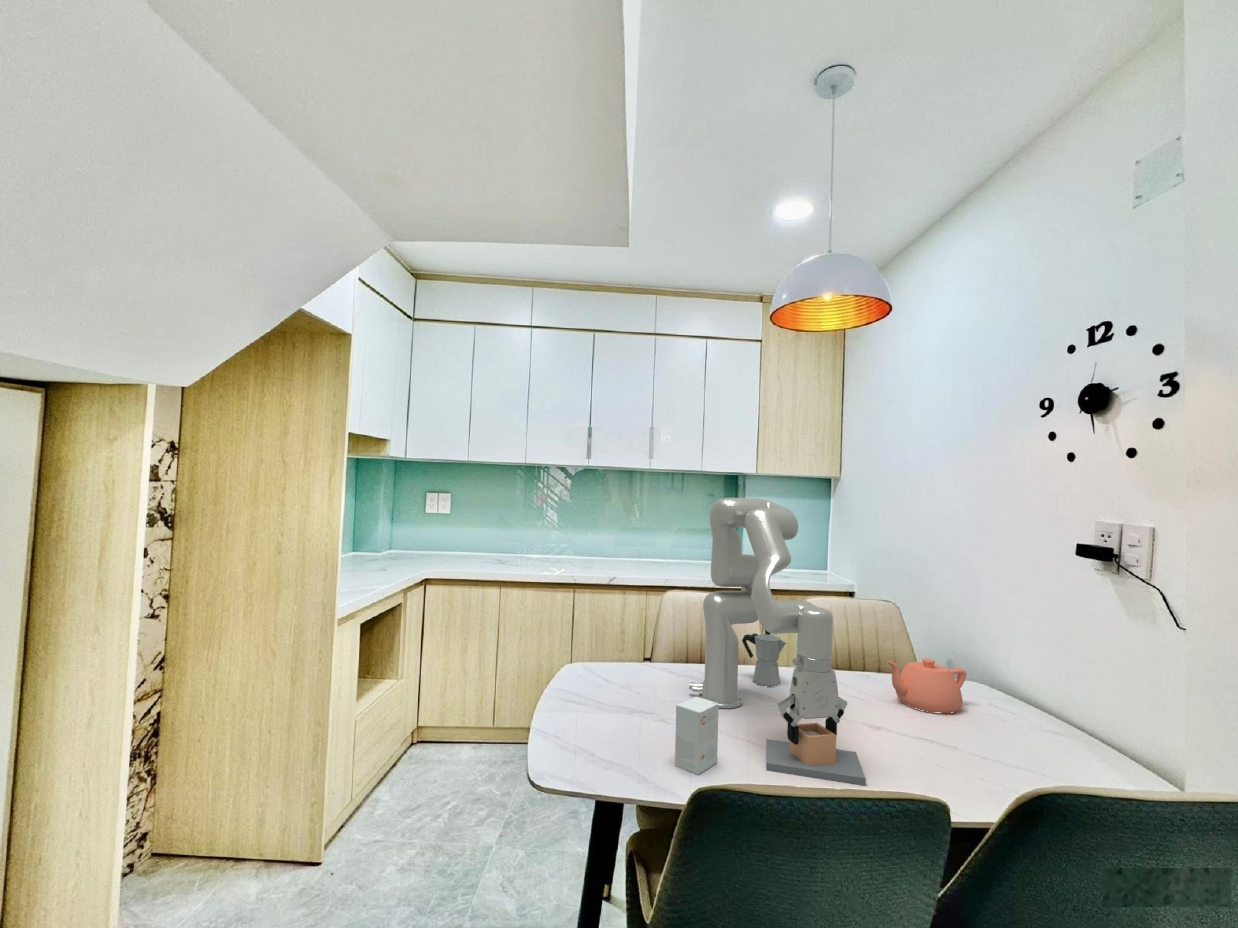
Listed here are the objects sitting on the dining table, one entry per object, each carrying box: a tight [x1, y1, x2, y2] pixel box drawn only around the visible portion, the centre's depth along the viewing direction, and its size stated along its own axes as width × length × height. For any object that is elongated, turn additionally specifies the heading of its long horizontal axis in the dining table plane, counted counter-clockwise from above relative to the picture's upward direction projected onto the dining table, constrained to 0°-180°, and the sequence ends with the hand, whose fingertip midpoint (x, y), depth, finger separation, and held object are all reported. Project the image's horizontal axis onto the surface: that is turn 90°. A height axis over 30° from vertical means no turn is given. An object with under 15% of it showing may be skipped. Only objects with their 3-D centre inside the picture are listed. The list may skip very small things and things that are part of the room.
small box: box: [674, 696, 720, 775], centre depth 124 cm, size 8×6×13 cm
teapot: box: [886, 658, 967, 714], centre depth 168 cm, size 25×17×13 cm
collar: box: [789, 722, 837, 766], centre depth 126 cm, size 7×7×6 cm
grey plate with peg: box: [765, 731, 867, 787], centre depth 126 cm, size 20×13×6 cm, turn 75°
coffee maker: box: [741, 629, 788, 688], centre depth 183 cm, size 15×9×18 cm, turn 58°
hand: (812, 740), depth 126 cm, fingers open, 9 cm apart
